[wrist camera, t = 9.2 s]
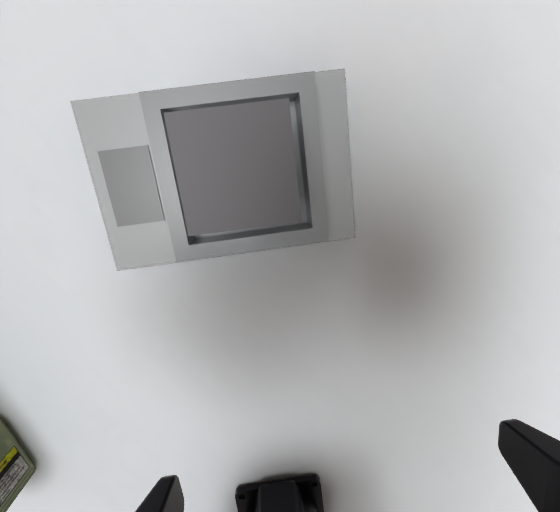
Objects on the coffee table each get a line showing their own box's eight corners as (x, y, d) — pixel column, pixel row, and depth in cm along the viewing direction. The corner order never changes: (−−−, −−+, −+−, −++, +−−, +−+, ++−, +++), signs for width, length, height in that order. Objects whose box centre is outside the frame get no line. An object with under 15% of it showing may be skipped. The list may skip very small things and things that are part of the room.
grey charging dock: (350, 234, 19) (365, 244, 17) (124, 265, 19) (102, 280, 16) (339, 74, 17) (355, 55, 14) (81, 105, 16) (46, 91, 14)
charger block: (288, 207, 18) (301, 221, 12) (209, 217, 17) (188, 236, 12) (278, 121, 16) (288, 95, 11) (193, 131, 16) (163, 110, 11)
